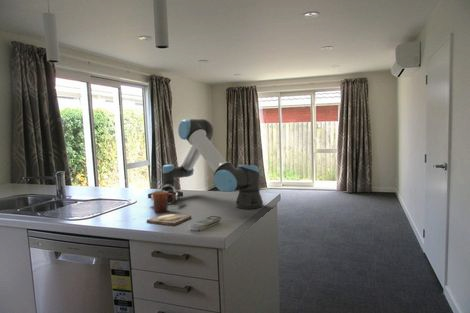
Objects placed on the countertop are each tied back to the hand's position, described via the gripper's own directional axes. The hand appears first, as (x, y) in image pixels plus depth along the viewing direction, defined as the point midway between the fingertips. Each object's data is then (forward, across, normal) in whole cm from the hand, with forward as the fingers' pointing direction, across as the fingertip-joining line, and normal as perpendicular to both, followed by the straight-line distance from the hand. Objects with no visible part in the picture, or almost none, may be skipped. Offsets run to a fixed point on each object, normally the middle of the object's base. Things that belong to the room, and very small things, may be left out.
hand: (164, 197), depth 187 cm
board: (+28, -5, -6) cm, 29 cm away
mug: (+7, 0, -6) cm, 10 cm away
